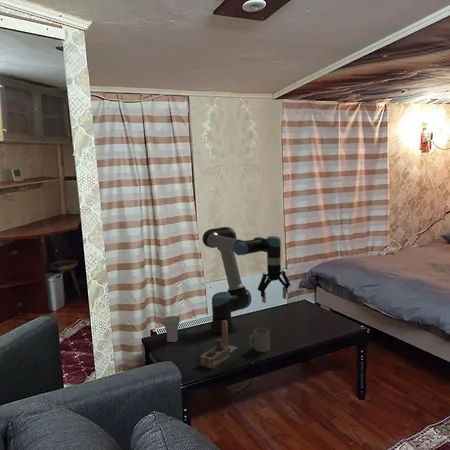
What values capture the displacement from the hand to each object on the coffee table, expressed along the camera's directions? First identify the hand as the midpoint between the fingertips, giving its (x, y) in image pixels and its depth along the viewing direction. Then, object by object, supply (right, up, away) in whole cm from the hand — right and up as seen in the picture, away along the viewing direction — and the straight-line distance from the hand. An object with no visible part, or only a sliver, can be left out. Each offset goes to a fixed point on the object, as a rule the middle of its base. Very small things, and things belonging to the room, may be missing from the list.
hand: (274, 300), depth 236 cm
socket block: (-33, -29, -17) cm, 47 cm away
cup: (-59, -26, +10) cm, 66 cm away
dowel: (-28, -26, -4) cm, 39 cm away
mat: (-28, -27, -4) cm, 39 cm away
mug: (-9, -27, -6) cm, 29 cm away
